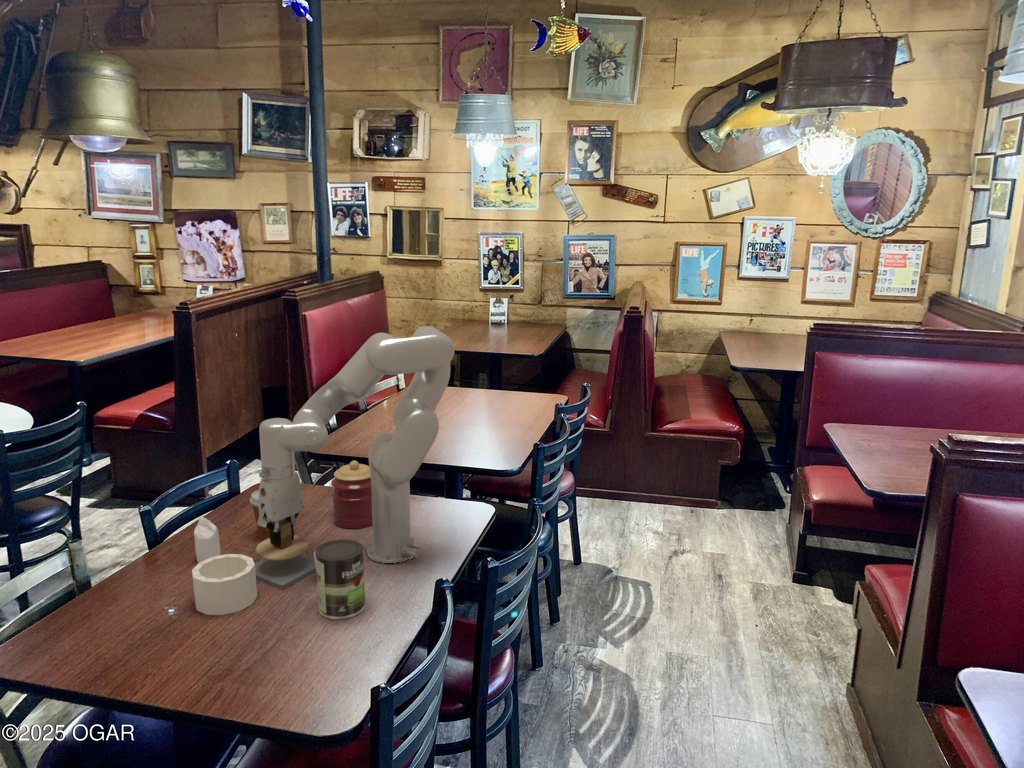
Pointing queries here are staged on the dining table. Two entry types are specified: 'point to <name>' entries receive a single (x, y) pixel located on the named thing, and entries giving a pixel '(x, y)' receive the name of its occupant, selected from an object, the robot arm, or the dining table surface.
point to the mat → (285, 570)
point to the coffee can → (340, 579)
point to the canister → (352, 496)
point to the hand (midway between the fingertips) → (282, 541)
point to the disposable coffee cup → (262, 531)
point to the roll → (206, 540)
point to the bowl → (224, 584)
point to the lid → (283, 545)
